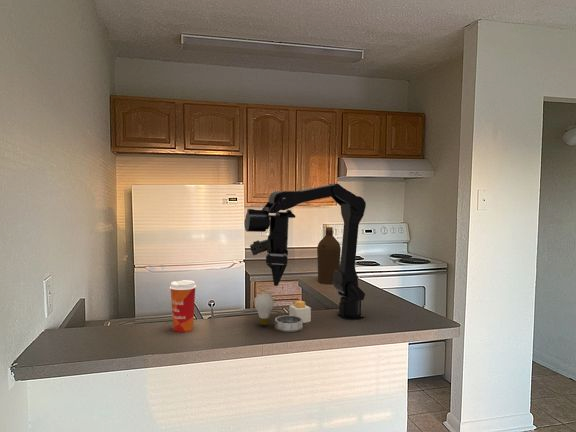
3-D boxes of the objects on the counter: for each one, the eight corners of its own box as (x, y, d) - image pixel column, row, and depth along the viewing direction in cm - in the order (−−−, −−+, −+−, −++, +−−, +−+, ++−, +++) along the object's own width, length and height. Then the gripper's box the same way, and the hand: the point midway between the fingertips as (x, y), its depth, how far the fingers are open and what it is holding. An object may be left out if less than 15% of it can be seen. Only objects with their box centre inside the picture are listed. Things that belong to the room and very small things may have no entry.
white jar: (303, 317, 138) (303, 303, 138) (310, 321, 134) (310, 306, 134) (289, 319, 136) (289, 304, 136) (296, 323, 132) (296, 308, 131)
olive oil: (340, 285, 187) (341, 228, 185) (316, 284, 188) (317, 228, 186) (339, 280, 198) (340, 226, 196) (316, 279, 198) (317, 226, 197)
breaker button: (301, 310, 136) (301, 300, 136) (305, 312, 134) (305, 302, 134) (294, 311, 135) (295, 301, 135) (298, 313, 133) (298, 303, 133)
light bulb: (275, 323, 132) (276, 291, 131) (270, 329, 126) (270, 296, 125) (257, 322, 133) (258, 290, 133) (251, 327, 127) (251, 294, 127)
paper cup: (165, 328, 126) (165, 281, 125) (189, 323, 131) (188, 278, 130) (177, 335, 120) (176, 286, 119) (201, 330, 125) (201, 283, 124)
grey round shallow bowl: (294, 322, 133) (294, 314, 133) (307, 330, 126) (307, 321, 126) (270, 325, 130) (270, 317, 129) (282, 334, 122) (282, 325, 122)
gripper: (254, 228, 139) (253, 275, 140) (249, 233, 121) (247, 288, 121) (288, 230, 139) (286, 277, 140) (288, 235, 121) (286, 289, 121)
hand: (276, 282), depth 131 cm, fingers open, 9 cm apart
